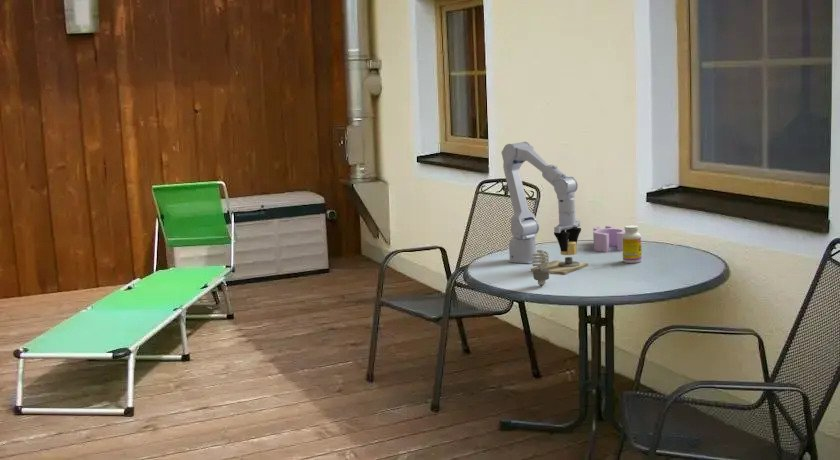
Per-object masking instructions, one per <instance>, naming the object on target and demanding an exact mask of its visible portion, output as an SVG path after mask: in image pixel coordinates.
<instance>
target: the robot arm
mask: <svg viewBox="0 0 840 460" xmlns="http://www.w3.org/2000/svg"><path fill="white" fill-rule="evenodd" d="M501 156H502V160H503V162H502V163H503V167H502V168H503V172H504V176H505V180H506V185H507V188H508V193H509V196H510V201H511V205H512V210H513V215H512V217H511V218H510V220H509V221H510V233H511V234H512V236H513V237H511V238H510V239H509V242H508V244H509V245H508V250H509V251H508V253H509V260H508V262H509V263H516V264H517V263H519V264H520V263H521V264H528V265H529V264H530V265H531V264H533V263H532V261H533V259H532V257H537V256H532V254H535V253H537V248H536V237H537V234H539V230H540V225H539V221H538V220H537V218H536V216H535V214H534V213H533V212H532V211H531V210H530V209H529V206H528V201H527V197H526V193H525V189H524V185H523V181H522V175H521V173H520V168H521V166H522V165H523V164H524V163H525V162H528V163H529V164H530V165H532V166H533V167H534V168H536V169H537V170H539V171H540V172H541V175H542V178H544V180H546V182H547V183H549V184H550V185H551V186H552V187H553V189H554V192H555V194H556V198H557V201H558V202H557V204H558V224H557V226H554V227H553V229H554V230H553V235H554V236H555V238H556V240H557V242H558V245H559V249H560V252H561V251H565V252H566V251H567V249H568V241H574V242H576V244H578V243H577V242H578V239H579V236H580V234H581V232H582V228H581V221H580V220H576V203H575V201H576V200H575V198H576V197H575V192H576V191H577V190H578V186H579V185H578V181H577V180H576V179H575V177H573V176H568V175H567V174H566V173H563V172H562V170H560V169H559V168H558V166H557V165H556V164H548V163H547V162H546V161H545V160H544V159H543V158H542V157H541V156H540V155H539V154H538V153H537V152H536V150H535V149H534V146H533V145H531V144H530V143H529V142H528V141H521V142H516V143H507V144H505V145H504V147H503V149H502V150H501ZM535 260H542V259H535Z"/></svg>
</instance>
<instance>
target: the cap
mask: <svg viewBox="0 0 840 460" xmlns="http://www.w3.org/2000/svg"><path fill="white" fill-rule="evenodd" d="M577 244H578V243H577ZM577 244H576V242H574V241H568V249H567V251H566V252H565V251H561V250H560V255H561V256H572V255H573V256H574V255H577V254H578V247H577V246H578V245H577Z"/></svg>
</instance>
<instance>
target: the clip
mask: <svg viewBox="0 0 840 460" xmlns="http://www.w3.org/2000/svg"><path fill="white" fill-rule="evenodd" d="M592 231H593V233H592V235H593V250H594V251H597V252H603V253H609V252H610V247H617V251H619V252H623V248H622V235H623V234H624V233H625V228H624V229H623V228H616V227H615V226H613V225H605V226H604V228H600V226H593V228H592Z"/></svg>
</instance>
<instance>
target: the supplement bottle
mask: <svg viewBox="0 0 840 460" xmlns="http://www.w3.org/2000/svg"><path fill="white" fill-rule="evenodd" d="M624 230H625V233H624V234H623V235H622V248H623V251H622V262H624V263H627V264H636V263H641V262H642V258H643V256H642V235H641V233H640V232H639V231H638V230H639V226H638V225H631V224H630V225H625V226H624Z"/></svg>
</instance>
